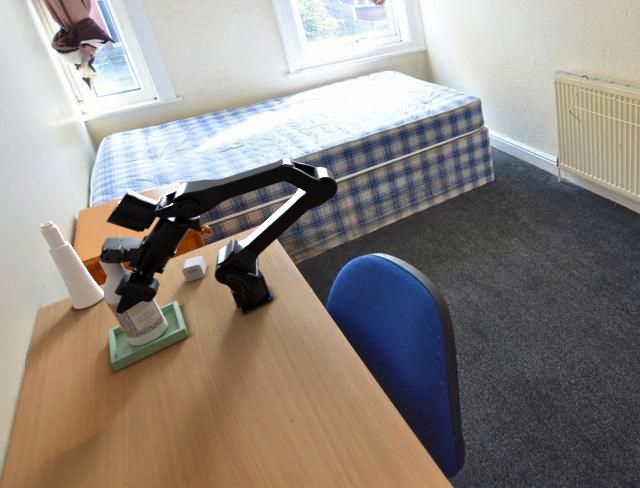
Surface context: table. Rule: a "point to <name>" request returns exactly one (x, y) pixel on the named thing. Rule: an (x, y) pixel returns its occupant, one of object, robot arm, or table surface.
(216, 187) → the robot arm
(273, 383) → the table surface
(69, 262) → the cosmetic bottle
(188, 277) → the usb wall charger
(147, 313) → the bath foam
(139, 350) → the toiletries tray
